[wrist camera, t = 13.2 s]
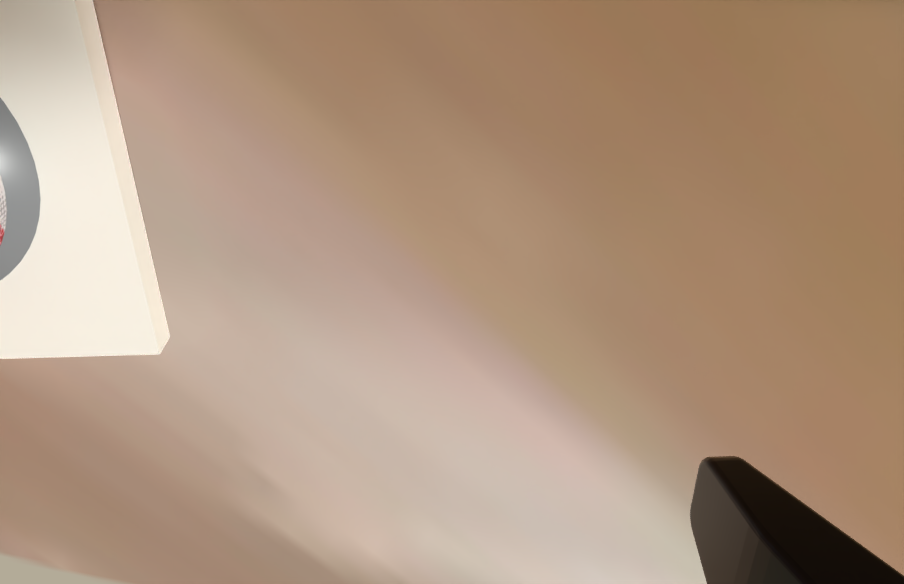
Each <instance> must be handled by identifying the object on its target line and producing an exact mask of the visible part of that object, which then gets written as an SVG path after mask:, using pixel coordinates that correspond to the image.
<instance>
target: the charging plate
mask: <svg viewBox="0 0 904 584" xmlns="http://www.w3.org/2000/svg"><path fill="white" fill-rule="evenodd" d="M0 176H1V179H2V183H3V186H4V189H5V196H6V205H7V218H6V229H5V232H4V236H3V239H2V243H1V245H0V359H13V358H49V357H84V356H119V355H154V354H160V353H161V352H162V350H163V348H164V346H165V345H166V343H167V341H168V340H169V338H170V334H169V329H168V325H167V321H166V316H165V312H164V308H163V303H162V299H161V295H160V290H159V286H158V282H157V277H156V273H155V269H154V264H153V260H152V255H151V251H150V247H149V242H148V238H147V234H146V229H145V225H144V221H143V216H142V212H141V208H140V203H139V199H138V195H137V190H136V186H135V182H134V177H133V173H132V169H131V164H130V160H129V156H128V151H127V147H126V143H125V138H124V134H123V129H122V125H121V121H120V116H119V112H118V108H117V103H116V99H115V95H114V90H113V86H112V82H111V77H110V73H109V69H108V64H107V60H106V56H105V51H104V47H103V43H102V38H101V34H100V30H99V25H98V21H97V16H96V12H95V8H94V3H93V0H0Z"/></svg>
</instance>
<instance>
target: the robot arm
mask: <svg viewBox="0 0 904 584" xmlns="http://www.w3.org/2000/svg"><path fill="white" fill-rule="evenodd" d="M690 519H691V527H692V531H693V535H694V538H695V542H696V545H697V549H698V553H699V556H700V560H701V563H702V567H703V571H704V574H705V578H706V582H707V584H904V576H903V575H902V574H901V573H899V572H898V571H896V570H895V569H894V568H892V567H891V566H890V565H888V564H887V563H885V562H884V561H883V560H881V559H880V558H879V557H877V556H876V555H874V554H873V553H872V552H870V551H869V550H868V549H866V548H865V547H863V546H862V545H861V544H859V543H858V542H856V541H855V540H854V539H852V538H851V537H850V536H848V535H847V534H845V533H844V532H843V531H841V530H840V529H839V528H837V527H836V526H834V525H833V524H832V523H830V522H829V521H827V520H826V519H825V518H823V517H822V516H821V515H819V514H818V513H816V512H815V511H814V510H812V509H811V508H810V507H808V506H807V505H805V504H804V503H803V502H801V501H800V500H798V499H797V498H796V497H794V496H793V495H792V494H790V493H789V492H787V491H786V490H785V489H783V488H782V487H781V486H779V485H778V484H776V483H775V482H774V481H772V480H771V479H770V478H768V477H767V476H765V475H764V474H763V473H761V472H760V471H758V470H757V469H756V468H754V467H753V466H752V465H750V464H749V463H747V462H746V461H745V460H743V459H741V458H739V457H735V456H723V457H707V458H705V459H703V460H702V462H701V463H700V466H699V469H698V474H697V479H696V484H695V489H694V494H693V499H692V503H691V509H690Z"/></svg>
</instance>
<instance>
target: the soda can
mask: <svg viewBox="0 0 904 584" xmlns="http://www.w3.org/2000/svg"><path fill="white" fill-rule="evenodd" d="M6 218H7V205H6V196H5V189H4V186H3V183H2V179H1V176H0V245H1V243H2V239H3V236H4V232H5V229H6Z"/></svg>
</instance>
